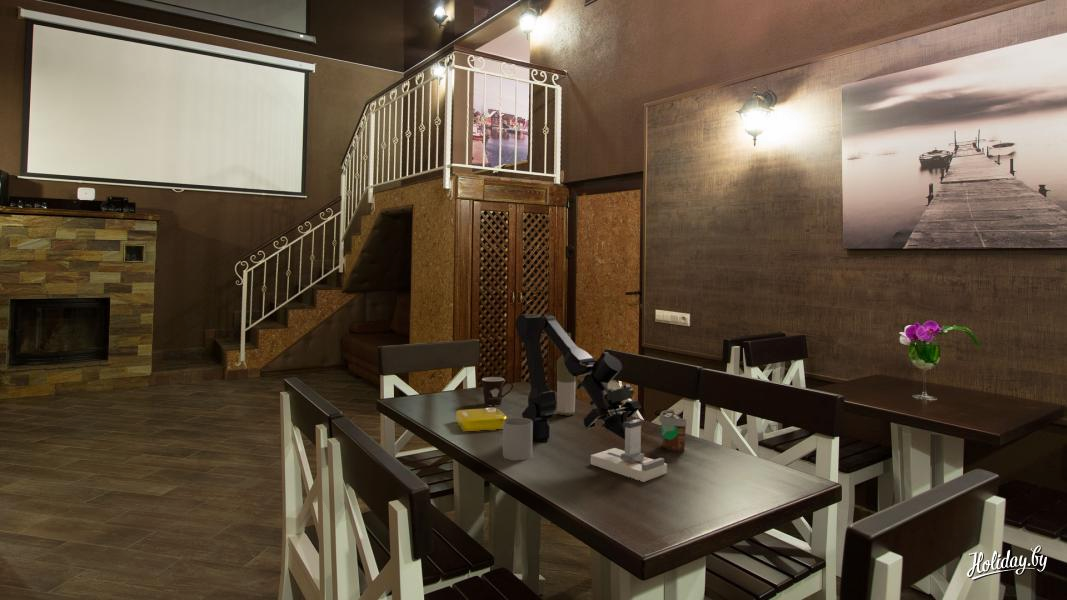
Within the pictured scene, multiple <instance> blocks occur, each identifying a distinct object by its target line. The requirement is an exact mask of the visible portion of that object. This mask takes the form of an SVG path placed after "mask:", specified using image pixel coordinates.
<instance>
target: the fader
mask: <svg viewBox="0 0 1067 600" xmlns="http://www.w3.org/2000/svg"><path fill="white" fill-rule="evenodd" d="M643 425H644V419H640V418H634V419H629V420H627V421H625V422H623V427H625V439H624V451H625V453H623V454H621V460H624V461H627V462H631V463H634V462H637V461H640V460H643V459H644V457H645V453H642V452H641V451H642V449H641V448H642V446H641V445H642V444H641V443H642V442H641V439H642V426H643Z"/></svg>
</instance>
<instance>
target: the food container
mask: <svg viewBox="0 0 1067 600" xmlns="http://www.w3.org/2000/svg"><path fill="white" fill-rule="evenodd" d="M658 420H659V422H660V423H661V424H660V426H661V427H660V428H661V442H662V443H661V444H662V448H663V449H666V450H669V451H671V452H672V451H673V452H680V451H684V452H685V445H686V444H685V443H686V428H687V418H682V417H681V416H680V415H678V414H676V413H675V410H674V409H666V410H663V411H661V412H660V414H659V418H658Z"/></svg>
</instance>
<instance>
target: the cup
mask: <svg viewBox="0 0 1067 600" xmlns="http://www.w3.org/2000/svg"><path fill="white" fill-rule="evenodd" d="M532 437H533V421H532V420H530V419H527V418H523V417H510V418H509V417H508V418H507V419H505V420H504V421H503V430H502V457H503V456H504V457H503V459H505V458H507V460H508V459H510V460H509V461H514V460H522V461H527V460H529V459H532V457H533V441H532Z"/></svg>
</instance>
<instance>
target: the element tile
mask: <svg viewBox="0 0 1067 600" xmlns="http://www.w3.org/2000/svg"><path fill="white" fill-rule="evenodd" d="M455 415H456V417H455V418H456V421H455V423H456V422H457V423H458V424H457V423H456V424H457V426H458V427H459V426H460V427H461V428H460V427H459V428H460V430H461V429H462V430H464V431H478V432H480V431H479V430H490V431H497V430H496V429H503V421H504V420H505V419H508V417H507V416H506V415H505V414H504V413H503V412H502V411H501V410H500V409H499V408H497V407H486V408H471V409H470V408H469V409H459V410H457V411H456V414H455ZM462 430H461V431H462ZM464 431H463V432H464Z"/></svg>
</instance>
